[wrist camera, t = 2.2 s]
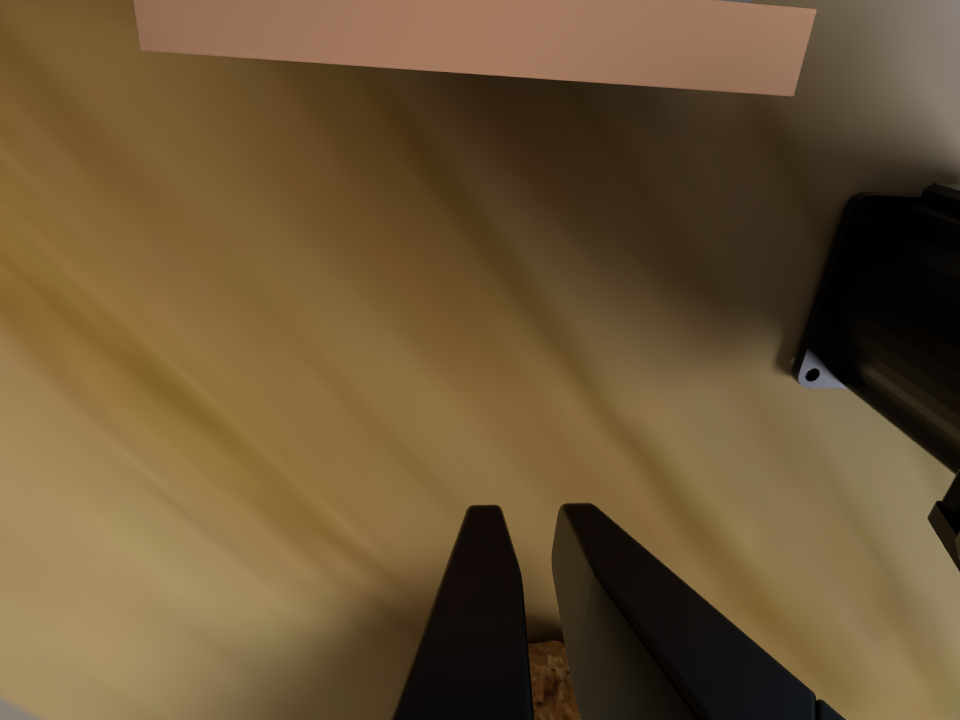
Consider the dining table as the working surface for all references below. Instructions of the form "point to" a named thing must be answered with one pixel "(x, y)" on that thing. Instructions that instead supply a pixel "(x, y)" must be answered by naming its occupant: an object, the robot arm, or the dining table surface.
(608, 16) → the tray
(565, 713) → the stuffed squirrel
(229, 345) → the dining table surface
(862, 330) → the robot arm
